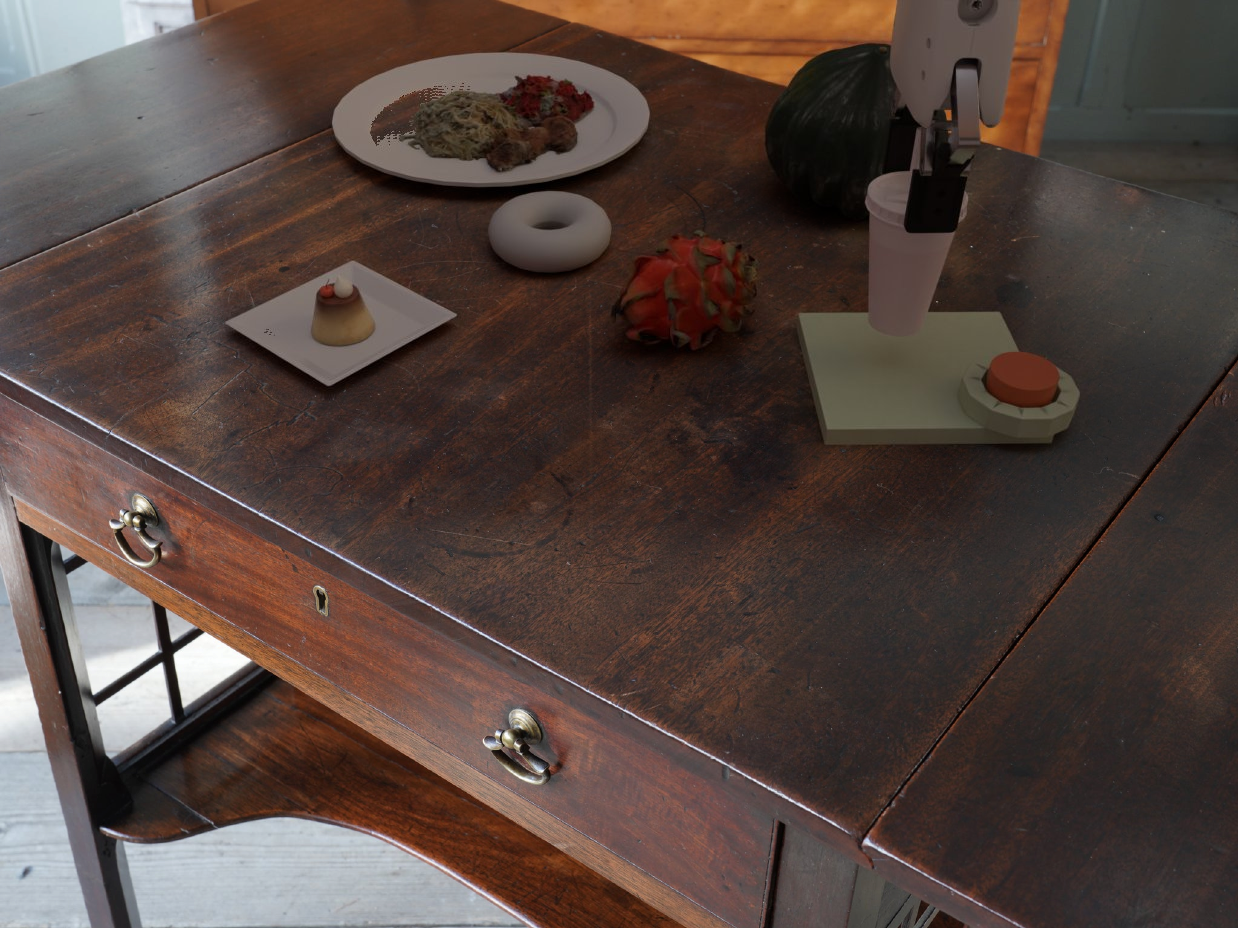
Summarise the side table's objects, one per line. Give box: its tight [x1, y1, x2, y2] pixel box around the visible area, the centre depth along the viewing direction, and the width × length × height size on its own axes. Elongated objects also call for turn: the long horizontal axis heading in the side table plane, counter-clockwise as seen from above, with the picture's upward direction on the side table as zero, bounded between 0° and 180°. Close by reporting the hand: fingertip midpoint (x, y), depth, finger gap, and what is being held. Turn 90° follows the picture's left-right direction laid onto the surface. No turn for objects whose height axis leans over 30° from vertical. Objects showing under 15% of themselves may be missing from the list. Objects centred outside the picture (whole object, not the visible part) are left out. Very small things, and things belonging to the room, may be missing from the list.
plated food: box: [331, 51, 651, 188], centre depth 116 cm, size 30×30×3 cm
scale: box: [795, 311, 1081, 446], centre depth 84 cm, size 17×15×3 cm
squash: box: [764, 42, 949, 221], centre depth 103 cm, size 14×15×15 cm
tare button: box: [986, 351, 1059, 408], centre depth 80 cm, size 4×4×2 cm
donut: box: [487, 190, 613, 274], centre depth 98 cm, size 10×4×10 cm
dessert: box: [224, 260, 458, 387], centre depth 88 cm, size 12×12×5 cm
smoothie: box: [865, 127, 969, 337], centre depth 79 cm, size 6×6×14 cm
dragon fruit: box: [610, 229, 759, 351], centre depth 88 cm, size 8×8×12 cm
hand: (917, 201), depth 78 cm, fingers closed on smoothie, 6 cm apart
